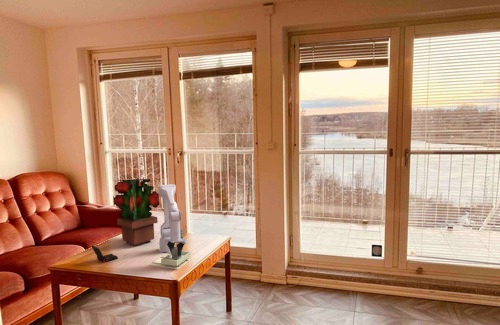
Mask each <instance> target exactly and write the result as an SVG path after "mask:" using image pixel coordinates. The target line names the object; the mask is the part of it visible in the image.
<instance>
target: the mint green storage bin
mask: <svg viewBox="0 0 500 325" xmlns="http://www.w3.org/2000/svg"><path fill="white" fill-rule="evenodd" d="M181 254H182V257H181V258H179V259H172V255H171V253H169V254H167V255H166V257H164V258H162V259H161V264H166V265H173V266H178V265H179V264H181V263H182V262H183V261H185V260H187V259H190V258H191V257H192V253H191V251H186V250H182V252H181Z"/></svg>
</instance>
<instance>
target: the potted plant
mask: <svg viewBox="0 0 500 325" xmlns="http://www.w3.org/2000/svg"><path fill="white" fill-rule="evenodd" d="M148 183H151V178H140V177H137V178H134V179H133V178H131V179H118V182H117V183H116V184H115V185H114V191H116V192H117V193H118V194H116V195H115V196H114V195H112V197H113V198H112V201H113V202H112V203H113V206H116V207H117V208H118V209H119V210H121V213H119V214H118V216H119V218H117V219H116V220H117V221H116V223H117V224H116V225H118V226H120V227H121V240H122V242H125V243H126V244H129V245H131V246H132V247H139V246H141V245H145V244H148V243H151V241H152V240H153V241H154V240H155V226H154V225H155V224H158V216H154V215H153V212H151V211H152V209H153V208H154V209H157V208H158V207H159V205H160V195H159V192H158V191H156V190H154V188H155V187H154V186H153V185H149V184H148ZM152 207H153V208H152Z"/></svg>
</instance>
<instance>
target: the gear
mask: <svg viewBox="0 0 500 325" xmlns="http://www.w3.org/2000/svg"><path fill="white" fill-rule="evenodd" d="M180 235H181V239H185V238H184V231H183V229H181V228H180Z"/></svg>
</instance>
